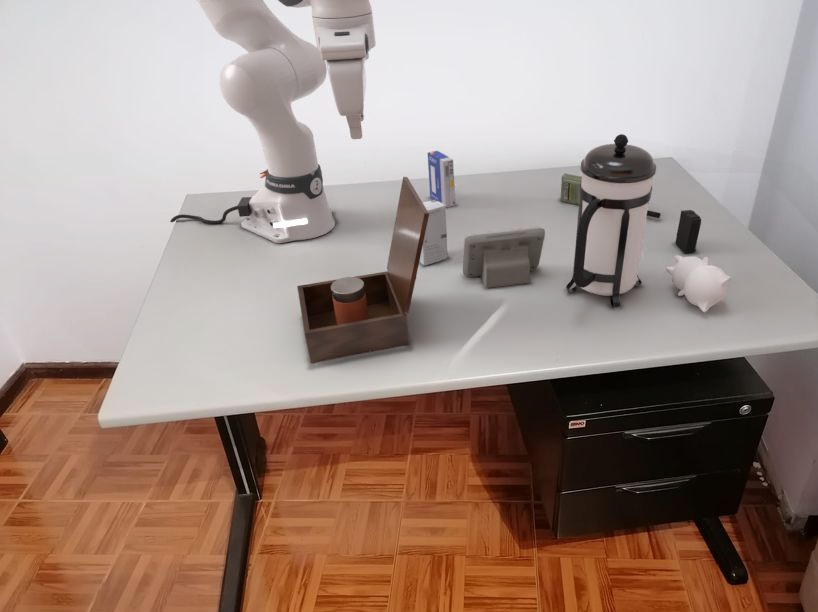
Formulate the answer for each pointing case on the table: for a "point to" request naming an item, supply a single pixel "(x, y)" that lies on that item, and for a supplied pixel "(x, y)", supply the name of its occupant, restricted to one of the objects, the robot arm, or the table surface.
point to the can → (349, 300)
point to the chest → (353, 337)
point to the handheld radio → (572, 188)
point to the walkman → (441, 178)
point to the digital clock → (503, 255)
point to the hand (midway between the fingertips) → (358, 128)
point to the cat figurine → (699, 281)
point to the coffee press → (612, 218)
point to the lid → (407, 243)
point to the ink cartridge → (688, 231)
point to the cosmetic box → (434, 234)
